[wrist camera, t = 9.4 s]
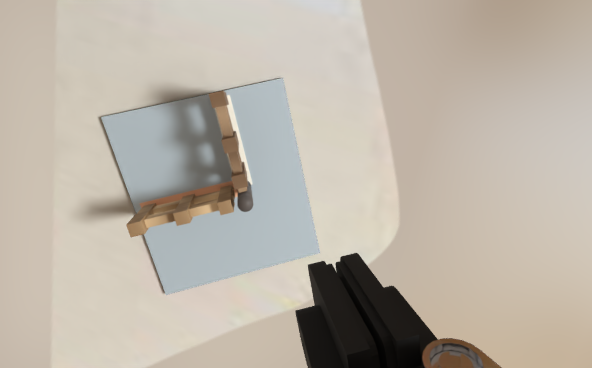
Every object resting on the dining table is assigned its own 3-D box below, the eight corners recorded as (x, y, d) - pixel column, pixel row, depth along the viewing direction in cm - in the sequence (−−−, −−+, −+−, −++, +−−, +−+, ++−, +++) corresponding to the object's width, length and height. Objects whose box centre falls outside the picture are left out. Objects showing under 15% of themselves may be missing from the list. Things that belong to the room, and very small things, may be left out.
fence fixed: (213, 95, 34) (206, 93, 27) (227, 92, 34) (223, 90, 27) (239, 192, 37) (239, 213, 30) (252, 189, 37) (254, 209, 30)
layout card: (102, 116, 33) (100, 117, 32) (282, 78, 34) (283, 77, 34) (166, 293, 38) (165, 295, 37) (319, 251, 40) (320, 253, 39)
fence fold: (232, 184, 35) (231, 199, 30) (235, 195, 36) (234, 211, 30) (143, 205, 34) (126, 224, 29) (147, 216, 35) (130, 237, 29)
